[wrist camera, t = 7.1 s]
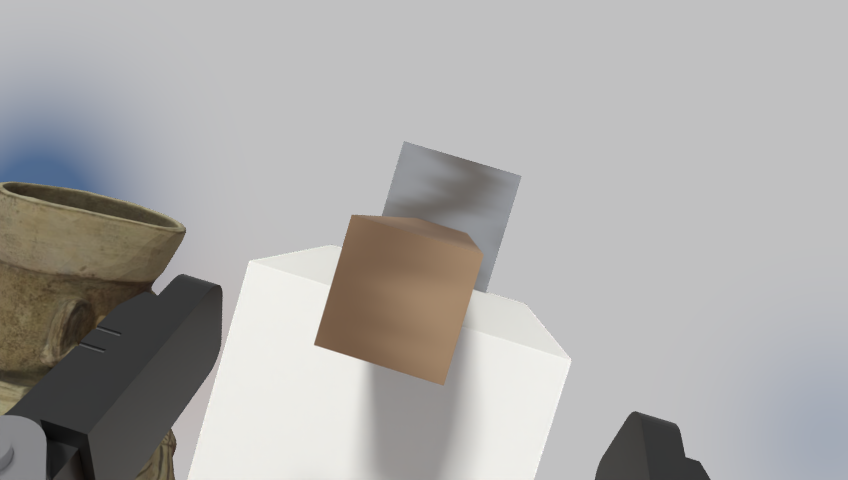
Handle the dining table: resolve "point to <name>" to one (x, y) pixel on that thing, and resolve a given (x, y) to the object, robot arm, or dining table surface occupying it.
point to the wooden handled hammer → (417, 263)
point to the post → (372, 392)
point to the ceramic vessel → (72, 280)
